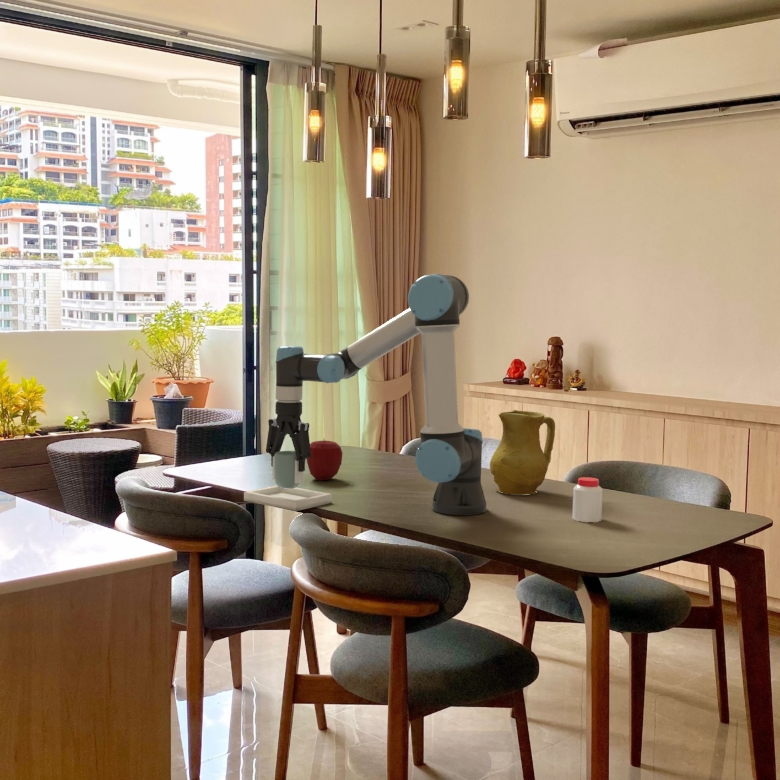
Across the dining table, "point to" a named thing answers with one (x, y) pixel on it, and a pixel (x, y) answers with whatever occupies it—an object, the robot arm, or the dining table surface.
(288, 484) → the cup
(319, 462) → the apple
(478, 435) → the robot arm
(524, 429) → the pitcher
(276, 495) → the tray
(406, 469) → the dining table surface
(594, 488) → the pill bottle
